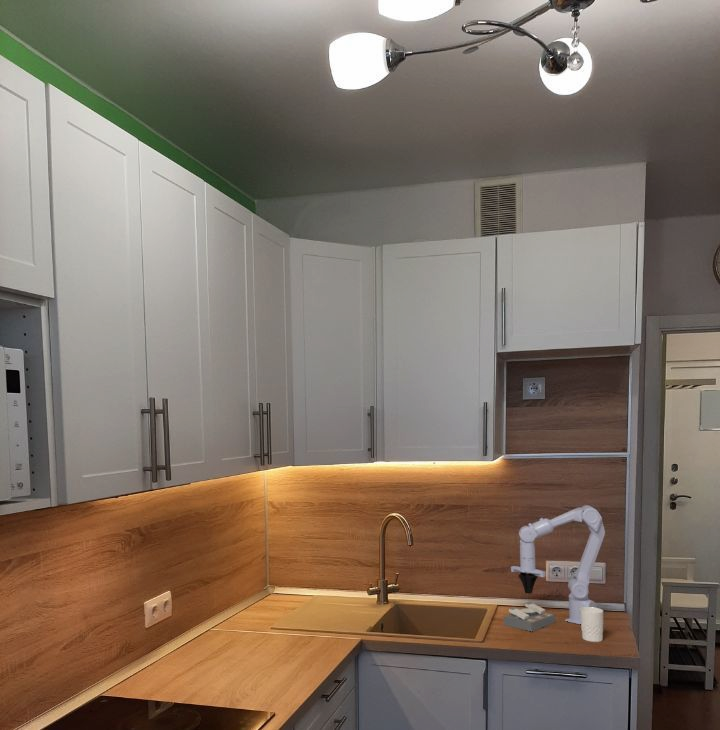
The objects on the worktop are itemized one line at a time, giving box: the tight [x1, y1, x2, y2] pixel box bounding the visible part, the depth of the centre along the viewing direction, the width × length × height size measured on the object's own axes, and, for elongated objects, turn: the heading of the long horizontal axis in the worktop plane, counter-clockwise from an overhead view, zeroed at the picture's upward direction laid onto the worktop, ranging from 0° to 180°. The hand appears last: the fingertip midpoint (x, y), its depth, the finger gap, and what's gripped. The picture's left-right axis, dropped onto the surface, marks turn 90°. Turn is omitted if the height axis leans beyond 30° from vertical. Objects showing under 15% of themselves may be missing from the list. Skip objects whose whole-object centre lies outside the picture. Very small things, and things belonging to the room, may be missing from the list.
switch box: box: [503, 612, 556, 633], centre depth 247 cm, size 12×16×4 cm
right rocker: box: [525, 601, 546, 614], centre depth 252 cm, size 7×4×1 cm, turn 41°
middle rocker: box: [518, 607, 537, 613], centre depth 249 cm, size 7×4×1 cm, turn 44°
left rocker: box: [508, 606, 529, 620], centre depth 245 cm, size 7×4×1 cm, turn 41°
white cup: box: [580, 607, 604, 643], centre depth 230 cm, size 8×8×10 cm
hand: (528, 593), depth 255 cm, fingers closed
